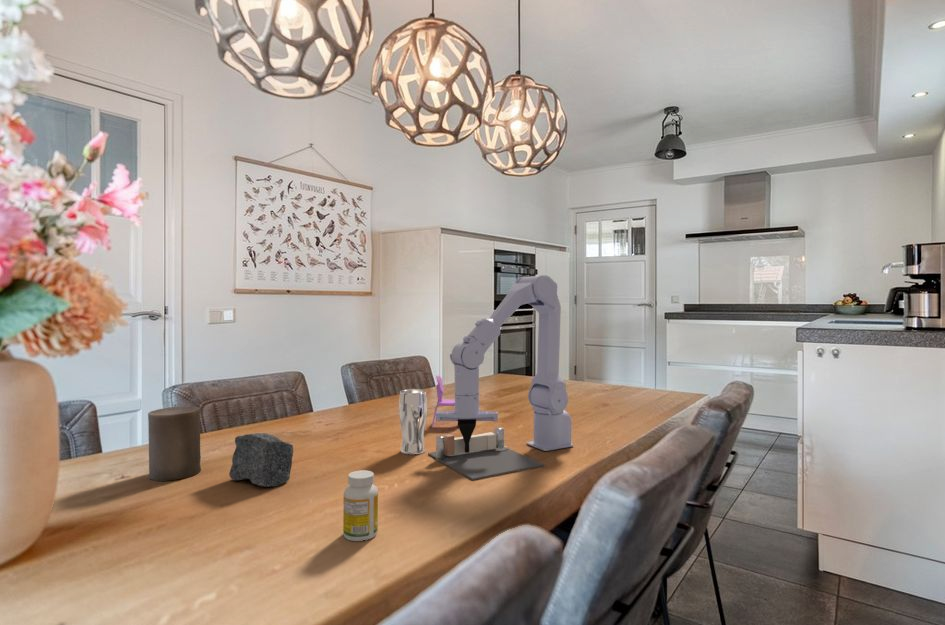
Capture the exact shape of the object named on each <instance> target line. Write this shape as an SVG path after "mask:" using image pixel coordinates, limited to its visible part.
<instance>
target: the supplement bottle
mask: <svg viewBox="0 0 945 625" xmlns="http://www.w3.org/2000/svg"><path fill="white" fill-rule="evenodd" d="M347 478H348V479H347V483H348V486H347V487H346V488H345V489H344V491H343V517H342V518H343V520H342V521H343V529H342V530H343V533H342V534H343V537H344V538H345V539H346V540H348V541H351V542H364V541H363V540H365V541H368V539H369V540H370V539H373V538H374V537H375V536H376V535H377V534H378V526H379V525H378V524H379V523H378V520H379V518H378V516H379V514H378V512H379V489H378V487H377V486H376V485H374V481H375V473H374V472H373V471H371V470H363V469H362V470H361V469H360V470H355V471H351V472H349V474H348V475H347Z"/></svg>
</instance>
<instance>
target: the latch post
mask: <svg viewBox="0 0 945 625" xmlns="http://www.w3.org/2000/svg"><path fill="white" fill-rule="evenodd" d="M435 452H436V459H435V461H436V462H439V463H440V460H443V459H445V456H447V455H445V437H444V435H437V436H436V437H435Z"/></svg>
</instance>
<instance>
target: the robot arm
mask: <svg viewBox="0 0 945 625" xmlns="http://www.w3.org/2000/svg"><path fill="white" fill-rule="evenodd" d="M526 304H528V305H530V306H532V308H533V309H534V310H535V311H536V312H537V313H538V334H537V335H538V338H537V367H536V370H537V372H536V374H535V376H533V378H532V379H531V381H530V382H531V384H530V388H529V389H528V393H527V399H528V403H530V405H531V407H532V410H533V440H531V441H527V442H526V445H529V446H531V447H533V448H535V449H539V450H541V451H543V452H548V451H554V450H559V449H565V448H570V447H574V444H573V443H572V418H571V416H570V413H569V412H568V411H566V408H567V406H568V403H569V395H568V393H567V389H566V388H567V387H566V386H567V385H566V382H565V381H564V380H563V378H562V377H561V375H560V374H559V372H560V371H559V370H560V345H561V342H560V341H561V340H560V339H561V337H560V336H561V313H562V312H561V311H562V310H561V302H560V299H559V297H558V283H557V282H555V281H554V279H553V278H552V277H551V276H549V275H547V274H542V275H537V276H536V275H534V276H521V277H519V278H517V279H516V281H515V283H513V284H512V285H511V286H510V288H509V291H508V293H507V294H506V295H505V297H504V298H503V299H502V301H501V302H500V303H499V305H498V306H497V307H496V309H495V310H494V312H492V314H491V315H490V317H489V318H482V319H481V320H477V321H476V322H475V323H474V325H475V327H474V328H473V329H472V330H471V331H470V332H469V334H468V335H466V336H464V337H463V338H462V342H458V343H457V344H455V345H454V347H453V348H452V350H451V353H450V354H449V358H450V361H451V363H452V364H453V366H454V367H453V368H454V369H453V370H454V399H455V406H454V410H446V411H445V410H444V411H436V416H435V422H450V421H451V422H457V428H458V427H459V428H458V430H459V431H460V434H461V437H463V439H464V442H465V453H469V442H470V438H471V436H472V435H473V433H474V430H475V429H476V426H477V422H494V423H495V422H496V423H498V421H499V418H498V417H499V415H498V414H499V413H498V411H485V410H480V369H479V368H480V366H481V365H482V364H483V363H484V359H485V354H486V353H487V351H488V350H489V348H490V347H491V346H492V345H493V343H494V342H495V341H497V339H498V338H499V337H500V335H501V327H502V326H503V324H504V323H505V322H506V321H508V320H509V318H510V317H511V316H512V315H513V314H514V313H515V312H516V311H517V310H518V309H519V307H520V306H523V305H526Z"/></svg>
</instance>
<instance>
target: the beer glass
mask: <svg viewBox="0 0 945 625" xmlns="http://www.w3.org/2000/svg"><path fill="white" fill-rule="evenodd" d="M398 398H399V399H398V401H399V402H398V416H399V417H398V418H399V424H400V428H401V437H402V438H401V444H400V453H401V454H403V455H408V454H409V456H413V455H415V454H416V455H420V454H424V453H425V452H426V445H425V437H424V436H425V428H426V422H427V417H428V416H427V414H428V397H427V390H426V389H421V388H408V389H407V388H406V389H402V390H399V396H398Z"/></svg>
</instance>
